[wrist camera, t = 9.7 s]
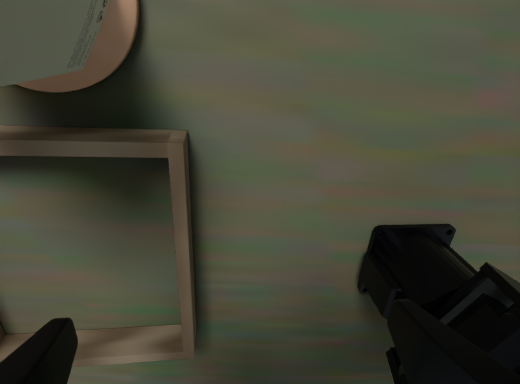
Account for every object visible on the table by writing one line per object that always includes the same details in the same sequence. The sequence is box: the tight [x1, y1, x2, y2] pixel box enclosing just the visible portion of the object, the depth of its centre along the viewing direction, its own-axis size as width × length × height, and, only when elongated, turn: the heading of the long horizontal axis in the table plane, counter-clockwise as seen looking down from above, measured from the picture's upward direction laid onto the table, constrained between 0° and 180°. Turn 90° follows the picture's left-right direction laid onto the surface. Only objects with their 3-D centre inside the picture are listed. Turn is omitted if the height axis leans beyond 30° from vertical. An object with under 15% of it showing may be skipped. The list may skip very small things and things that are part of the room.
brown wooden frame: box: [0, 125, 197, 367], centre depth 20 cm, size 15×17×2 cm
